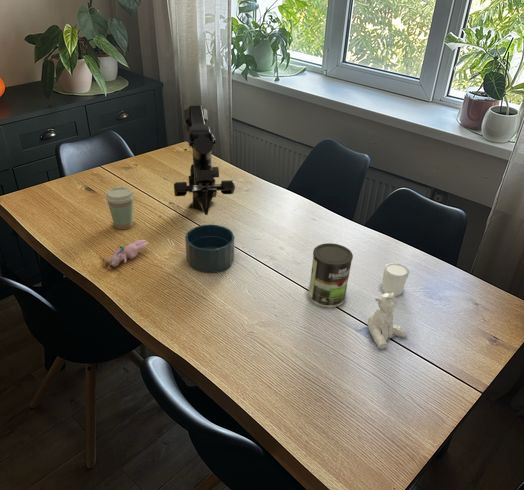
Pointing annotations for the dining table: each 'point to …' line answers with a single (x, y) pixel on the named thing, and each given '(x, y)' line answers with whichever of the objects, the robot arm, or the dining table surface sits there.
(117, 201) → the coffee cup
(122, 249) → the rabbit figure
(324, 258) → the coffee can
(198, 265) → the bowl
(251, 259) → the dining table surface
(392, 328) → the seated beast figurine
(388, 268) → the white candle jar
